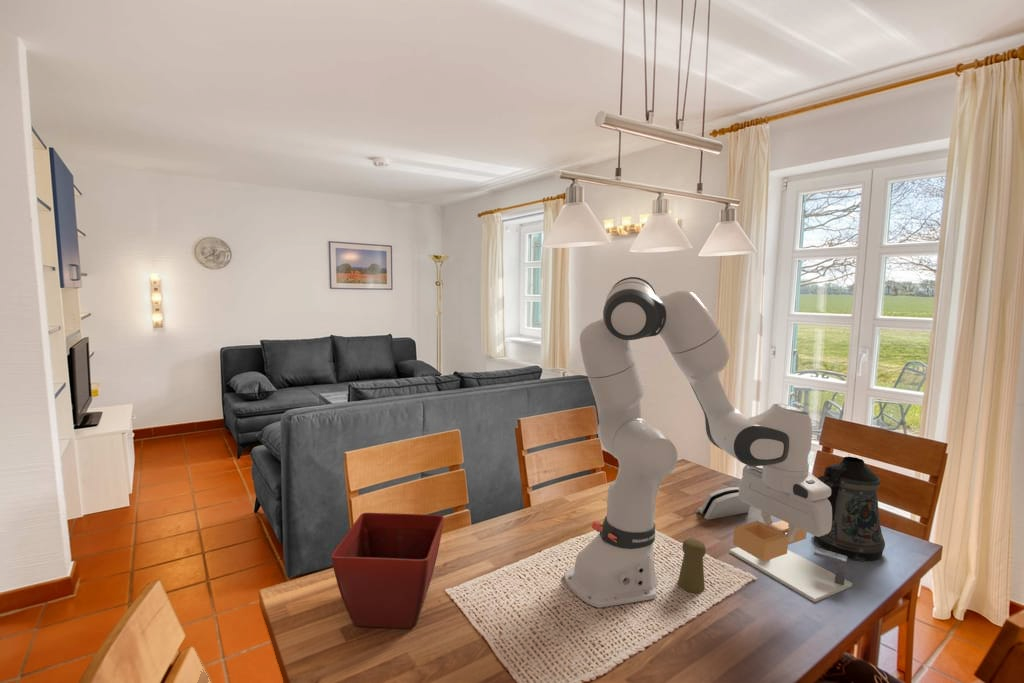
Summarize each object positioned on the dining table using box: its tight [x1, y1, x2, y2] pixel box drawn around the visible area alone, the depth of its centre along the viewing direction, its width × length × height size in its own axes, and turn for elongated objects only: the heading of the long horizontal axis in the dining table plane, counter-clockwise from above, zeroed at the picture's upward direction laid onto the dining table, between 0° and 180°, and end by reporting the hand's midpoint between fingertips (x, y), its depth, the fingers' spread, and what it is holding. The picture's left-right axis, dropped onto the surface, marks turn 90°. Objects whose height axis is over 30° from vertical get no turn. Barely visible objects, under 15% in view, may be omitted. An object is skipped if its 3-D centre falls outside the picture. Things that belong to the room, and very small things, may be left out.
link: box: [732, 520, 807, 562], centre depth 111 cm, size 18×8×4 cm, turn 116°
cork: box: [677, 538, 707, 594], centre depth 117 cm, size 6×6×11 cm
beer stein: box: [813, 456, 886, 562], centre depth 135 cm, size 16×19×25 cm
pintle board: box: [729, 546, 853, 603], centre depth 125 cm, size 14×23×5 cm, turn 27°
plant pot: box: [331, 512, 445, 629], centre depth 105 cm, size 19×19×17 cm
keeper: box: [813, 546, 848, 586], centre depth 120 cm, size 7×3×7 cm, turn 52°
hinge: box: [696, 486, 751, 520], centre depth 155 cm, size 17×5×10 cm, turn 110°
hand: (778, 536), depth 111 cm, fingers closed on link, 3 cm apart
